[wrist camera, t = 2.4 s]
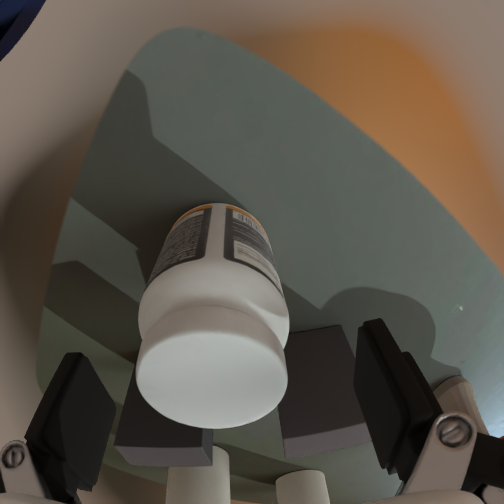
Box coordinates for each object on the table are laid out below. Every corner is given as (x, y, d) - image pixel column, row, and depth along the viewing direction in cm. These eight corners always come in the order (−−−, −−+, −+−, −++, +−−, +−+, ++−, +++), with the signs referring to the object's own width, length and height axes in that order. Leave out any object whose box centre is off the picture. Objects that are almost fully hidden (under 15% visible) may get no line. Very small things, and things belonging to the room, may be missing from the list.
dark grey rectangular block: (271, 361, 22) (285, 459, 15) (267, 337, 21) (282, 439, 14) (339, 349, 22) (373, 440, 15) (341, 324, 21) (380, 418, 14)
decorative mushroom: (414, 381, 25) (479, 518, 11) (487, 348, 24) (562, 459, 11) (405, 432, 29) (447, 540, 16) (468, 404, 28) (518, 499, 15)
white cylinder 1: (180, 468, 29) (175, 545, 20) (162, 442, 27) (152, 532, 18) (233, 466, 29) (237, 546, 20) (222, 440, 27) (224, 535, 18)
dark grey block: (149, 373, 22) (130, 465, 15) (138, 350, 21) (113, 445, 14) (215, 368, 22) (212, 466, 15) (207, 344, 21) (201, 447, 14)
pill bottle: (177, 296, 19) (148, 438, 10) (159, 205, 17) (88, 321, 8) (272, 287, 19) (301, 430, 10) (266, 193, 17) (306, 305, 8)
